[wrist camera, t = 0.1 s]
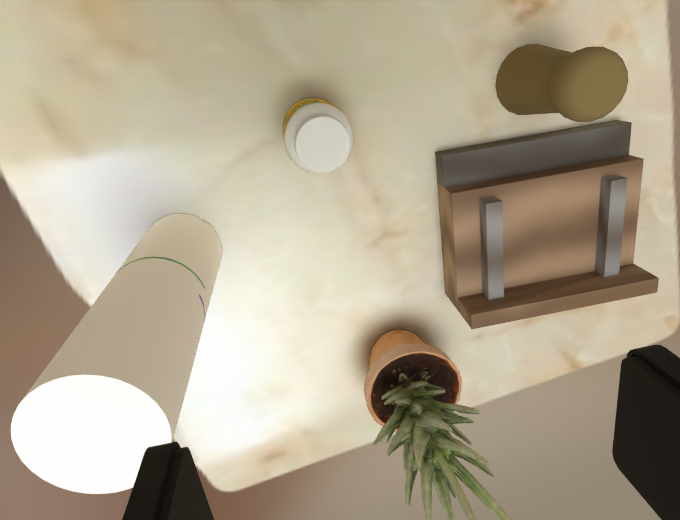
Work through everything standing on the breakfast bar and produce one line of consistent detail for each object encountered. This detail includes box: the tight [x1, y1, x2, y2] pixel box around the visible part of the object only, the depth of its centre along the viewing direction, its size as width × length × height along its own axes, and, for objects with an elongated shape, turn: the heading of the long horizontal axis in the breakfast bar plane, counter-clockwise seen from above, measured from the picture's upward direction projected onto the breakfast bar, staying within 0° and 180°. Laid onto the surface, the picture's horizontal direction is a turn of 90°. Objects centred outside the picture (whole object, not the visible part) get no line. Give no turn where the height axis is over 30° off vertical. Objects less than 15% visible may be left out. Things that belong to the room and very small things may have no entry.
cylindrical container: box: [11, 214, 222, 494], centre depth 35 cm, size 7×7×25 cm
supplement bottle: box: [283, 98, 354, 174], centre depth 39 cm, size 5×5×10 cm
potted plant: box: [364, 330, 511, 520], centre depth 42 cm, size 10×10×25 cm
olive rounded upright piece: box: [496, 45, 628, 122], centre depth 39 cm, size 6×6×11 cm
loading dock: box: [436, 120, 659, 329], centre depth 46 cm, size 15×18×8 cm
